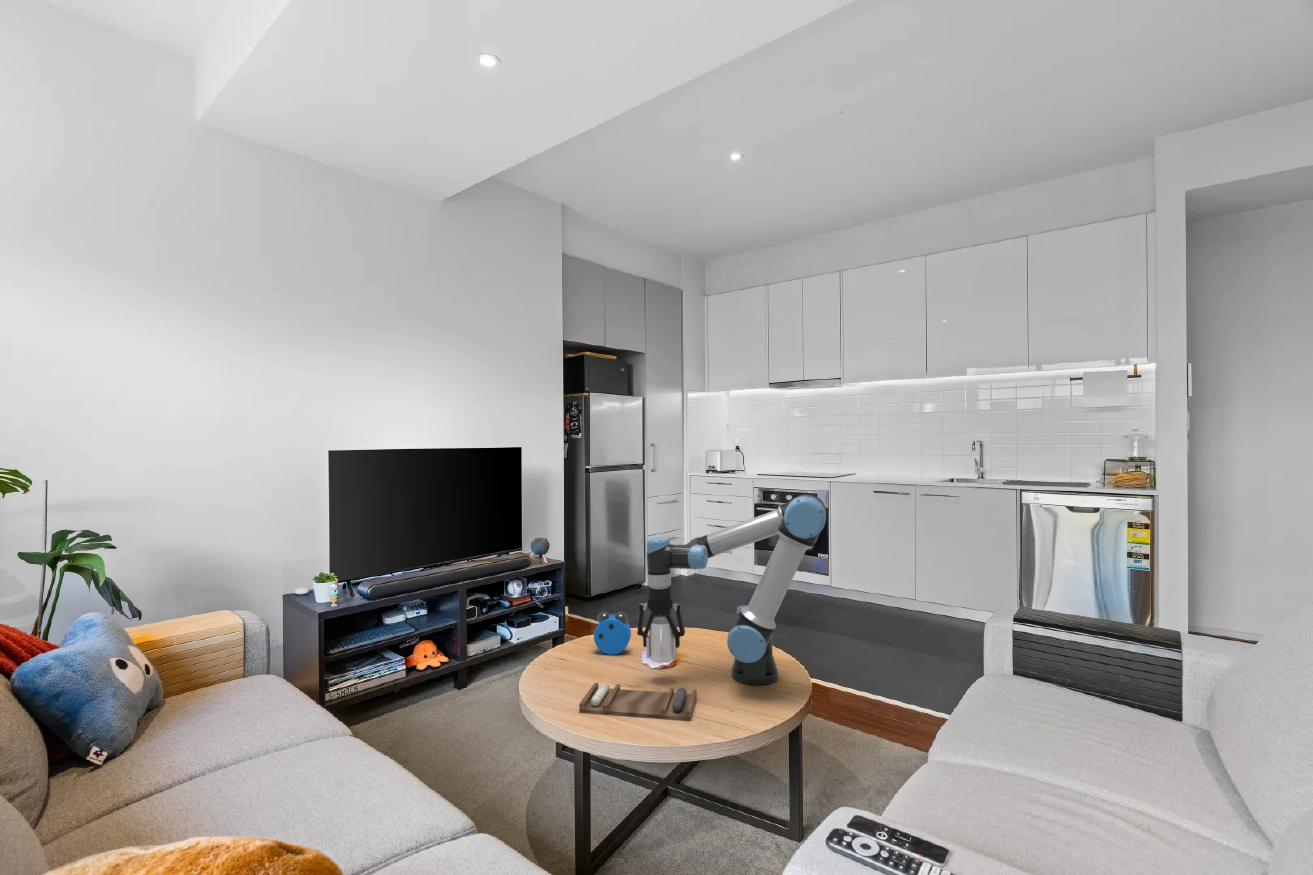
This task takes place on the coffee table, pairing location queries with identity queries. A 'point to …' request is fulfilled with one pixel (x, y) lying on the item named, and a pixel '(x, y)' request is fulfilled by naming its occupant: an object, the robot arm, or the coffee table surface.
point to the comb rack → (639, 703)
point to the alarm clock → (612, 633)
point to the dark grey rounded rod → (679, 699)
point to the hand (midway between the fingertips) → (662, 657)
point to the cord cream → (600, 694)
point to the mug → (661, 641)
